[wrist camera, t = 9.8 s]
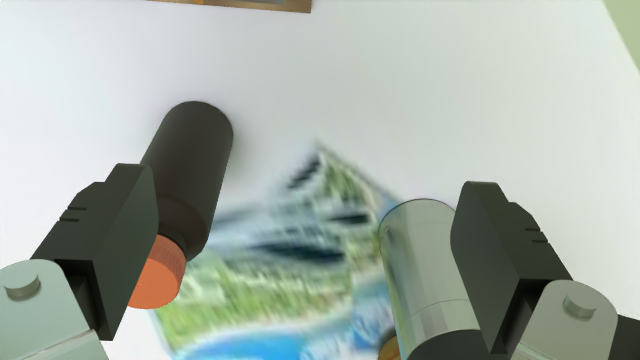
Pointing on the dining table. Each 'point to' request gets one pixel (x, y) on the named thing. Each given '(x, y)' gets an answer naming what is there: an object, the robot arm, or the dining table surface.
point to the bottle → (182, 195)
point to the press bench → (254, 4)
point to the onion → (390, 350)
